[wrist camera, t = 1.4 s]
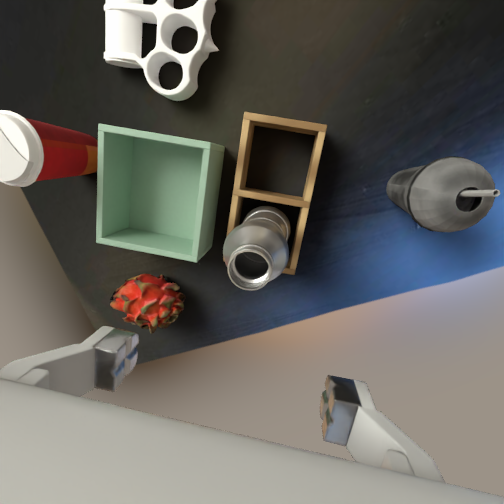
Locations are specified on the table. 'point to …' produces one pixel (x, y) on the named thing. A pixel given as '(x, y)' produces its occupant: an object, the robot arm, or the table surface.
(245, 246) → the silver metal bottle
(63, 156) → the paper cup
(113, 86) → the table surface
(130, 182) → the open storage box
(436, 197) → the beverage cup
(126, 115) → the table surface
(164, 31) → the knuckle duster
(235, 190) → the rack
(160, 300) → the dragon fruit
